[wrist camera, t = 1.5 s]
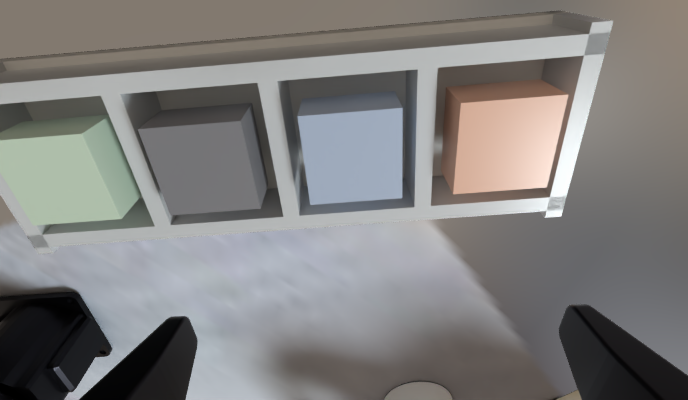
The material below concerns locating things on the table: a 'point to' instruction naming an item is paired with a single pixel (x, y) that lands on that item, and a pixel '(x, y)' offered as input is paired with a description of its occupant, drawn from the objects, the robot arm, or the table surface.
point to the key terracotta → (500, 135)
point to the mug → (419, 392)
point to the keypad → (284, 103)
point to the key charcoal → (206, 158)
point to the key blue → (352, 147)
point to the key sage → (68, 170)
